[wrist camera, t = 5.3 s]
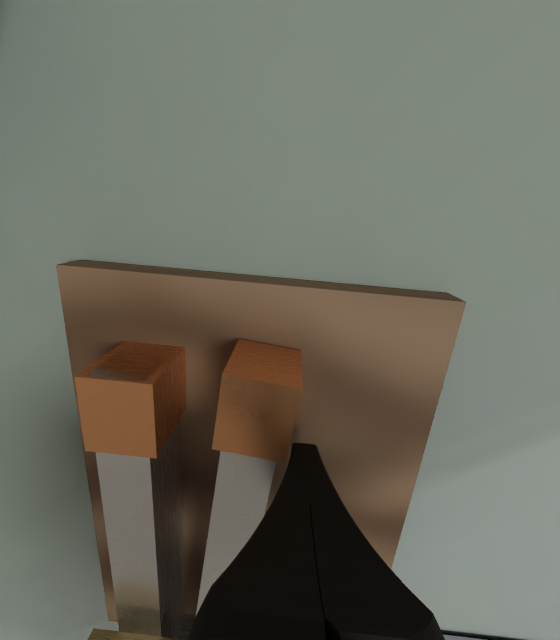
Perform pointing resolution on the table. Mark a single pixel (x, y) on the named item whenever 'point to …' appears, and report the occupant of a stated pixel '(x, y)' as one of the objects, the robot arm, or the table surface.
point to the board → (317, 379)
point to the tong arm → (249, 445)
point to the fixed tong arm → (140, 479)
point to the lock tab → (122, 636)
